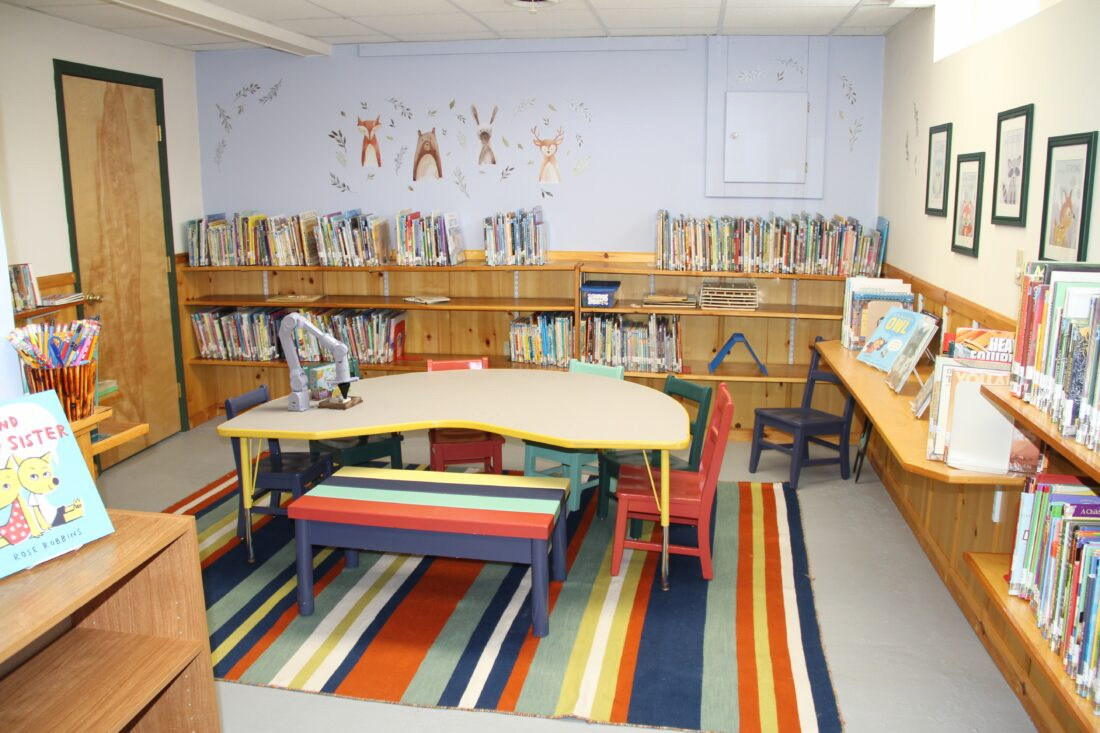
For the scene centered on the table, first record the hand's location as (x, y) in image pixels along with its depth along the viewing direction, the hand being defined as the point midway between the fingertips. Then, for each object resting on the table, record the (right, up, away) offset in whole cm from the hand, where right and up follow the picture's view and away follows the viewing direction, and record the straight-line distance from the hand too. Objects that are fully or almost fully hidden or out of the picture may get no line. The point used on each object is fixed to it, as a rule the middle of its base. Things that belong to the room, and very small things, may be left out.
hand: (345, 398), depth 403 cm
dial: (-3, -2, +3) cm, 5 cm away
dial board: (-3, -3, +4) cm, 6 cm away
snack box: (-12, 0, +23) cm, 26 cm away
